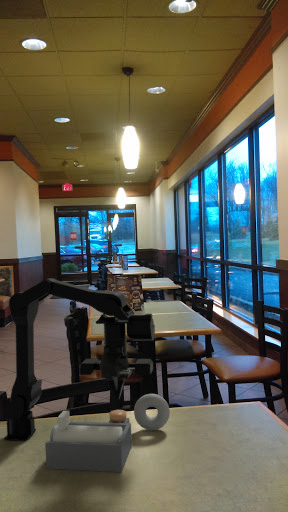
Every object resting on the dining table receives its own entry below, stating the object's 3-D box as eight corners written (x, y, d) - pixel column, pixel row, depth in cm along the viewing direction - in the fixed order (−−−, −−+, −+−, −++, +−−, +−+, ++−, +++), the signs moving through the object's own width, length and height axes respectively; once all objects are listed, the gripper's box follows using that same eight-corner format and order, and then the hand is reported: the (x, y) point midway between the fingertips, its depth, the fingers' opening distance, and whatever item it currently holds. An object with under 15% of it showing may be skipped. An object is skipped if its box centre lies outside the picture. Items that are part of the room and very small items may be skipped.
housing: (46, 468, 96) (45, 442, 96) (70, 434, 113) (70, 412, 113) (122, 472, 93) (121, 445, 93) (135, 436, 111) (134, 414, 111)
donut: (170, 427, 116) (169, 391, 116) (170, 432, 112) (169, 396, 112) (135, 427, 117) (133, 392, 116) (133, 432, 113) (132, 396, 113)
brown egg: (108, 437, 107) (107, 416, 107) (112, 429, 111) (111, 409, 111) (125, 437, 106) (124, 416, 106) (128, 430, 111) (127, 409, 110)
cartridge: (50, 456, 99) (48, 419, 99) (59, 444, 105) (58, 408, 105) (118, 459, 96) (116, 420, 96) (123, 446, 103) (122, 410, 102)
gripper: (71, 347, 102) (73, 410, 102) (145, 347, 99) (148, 412, 99) (84, 337, 113) (86, 394, 113) (152, 337, 110) (154, 395, 110)
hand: (117, 399), depth 109 cm, fingers closed
